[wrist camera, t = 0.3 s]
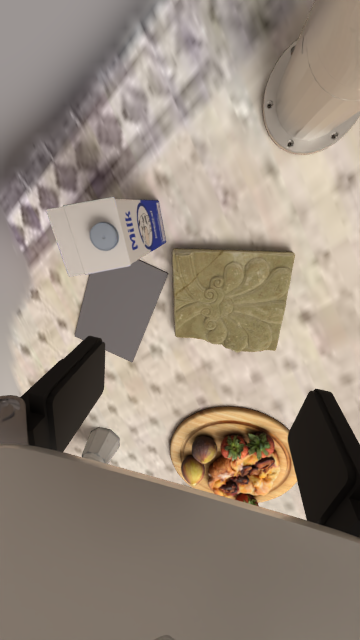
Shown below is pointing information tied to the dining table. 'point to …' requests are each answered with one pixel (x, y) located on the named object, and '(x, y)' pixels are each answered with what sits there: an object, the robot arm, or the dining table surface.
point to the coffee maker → (101, 445)
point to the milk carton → (106, 233)
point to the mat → (120, 306)
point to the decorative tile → (231, 296)
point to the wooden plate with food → (234, 454)
